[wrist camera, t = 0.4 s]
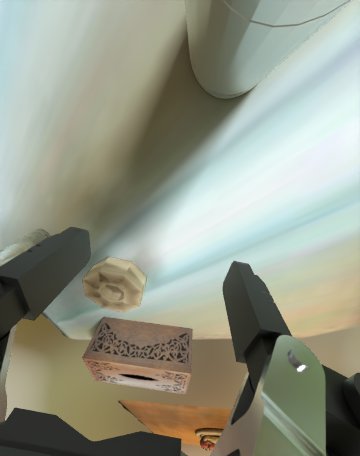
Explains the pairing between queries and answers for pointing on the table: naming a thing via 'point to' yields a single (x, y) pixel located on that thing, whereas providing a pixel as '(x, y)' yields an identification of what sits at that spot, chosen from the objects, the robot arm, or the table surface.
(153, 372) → the tissue box cover
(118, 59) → the table surface
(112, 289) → the wooden bead
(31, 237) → the steel peg
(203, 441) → the wooden plate with food
